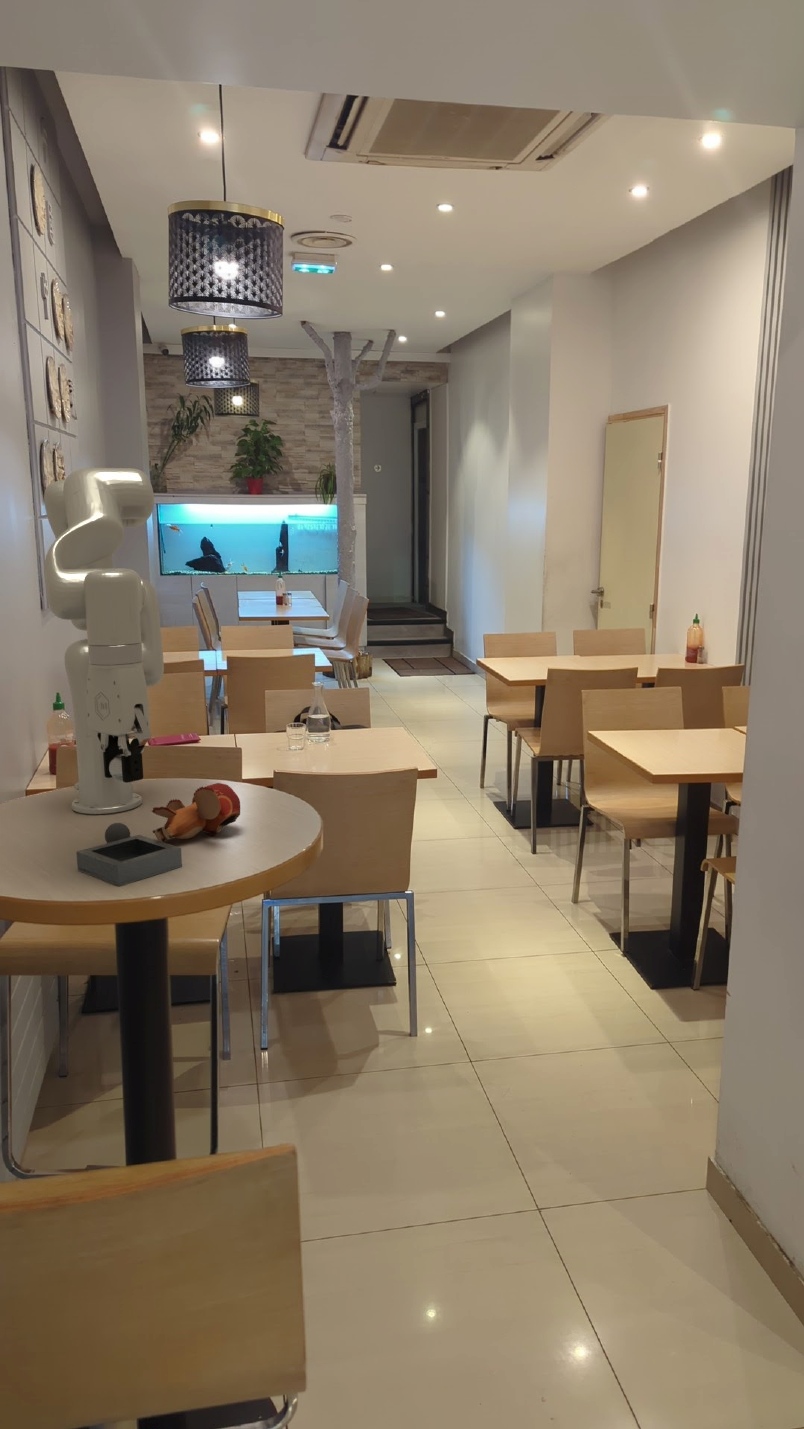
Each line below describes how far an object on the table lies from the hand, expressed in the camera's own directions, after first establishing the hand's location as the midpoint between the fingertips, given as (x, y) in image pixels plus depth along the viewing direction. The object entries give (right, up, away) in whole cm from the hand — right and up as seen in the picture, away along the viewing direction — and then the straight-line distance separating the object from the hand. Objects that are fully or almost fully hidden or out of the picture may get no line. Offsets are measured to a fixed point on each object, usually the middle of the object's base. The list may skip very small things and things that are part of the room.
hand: (124, 777), depth 145 cm
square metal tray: (0, -14, +3) cm, 14 cm away
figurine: (+6, -11, +19) cm, 23 cm away
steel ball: (0, +1, 0) cm, 2 cm away
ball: (-5, -10, +13) cm, 17 cm away
